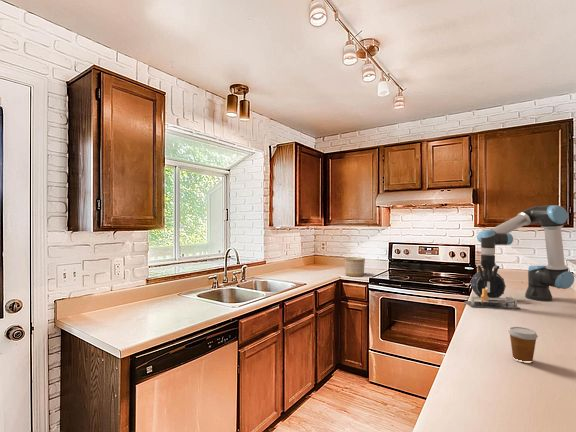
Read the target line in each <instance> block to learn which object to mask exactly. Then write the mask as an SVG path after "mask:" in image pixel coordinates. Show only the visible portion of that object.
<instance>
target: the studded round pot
mask: <svg viewBox="0 0 576 432" xmlns="http://www.w3.org/2000/svg"><path fill="white" fill-rule="evenodd" d="M493 271H494V270H492V274H493ZM482 272H483V276H484V270H483V269H482ZM487 281H488V275H487ZM470 285H471V290H472V291H473V292H474V294H475V295H476V297H481V295H482V289H486V287H485V286H484V281H483V280H481V278H480V274H479V271H477V272H476V273H475V274H474V275H473V276H472V277H471V282H470ZM506 287H507V286H506V283H505V279H504V277H502V276H501V274H499V273H498V272H497V275H496V278H495V281H492V283H491V287H490V293H489V292H487V296H488V297H491V298H501V296H503V295H504V294H505V293H504V292H505V290H506Z"/></svg>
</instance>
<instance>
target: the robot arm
mask: <svg viewBox="0 0 576 432" xmlns="http://www.w3.org/2000/svg"><path fill="white" fill-rule="evenodd" d="M567 220H568V212H567V210H566V209H565V208H564V207H563V206H561V205H553V204H552V205H551V204H550V205H535V206H532V207H530V208H527V209H525V210H523V211H521V212H519V213H517V215H516V216H514V217H512V218H510V219H507V220H506V221H504V222H503V223H500V224H498V225H496V226H495V227H492V228H490V229H483V230H481V231H479V232H478V233H477V235H476V239H477V242H479V243H480V247H481V248H480V250H481V251H480V254H481V255H480V262H479V264H476V268H477V269H478V272H479V274H480V278H481V280H483V281H484V286H485V287H486V289H487V292H489V293H490V287H491V283H492V281H495V278H496V275H497V273H498V271H499V269H500V266H499V265H498V264H496V255H495V254H496V246H509V245H512V244H513V242H514V235H512V234H511V232H514V231H515V230H517V229H519V228H521V227H523V226H529V225H532V224H540V227H541V228H542V229H543V230H544V239H545V240H544V241H545V248H546V256H547V265H530V266H528V271H527V276H528V277H527V280H528V282H527V283H528V287H527V288H526V290H525V293H524V297H525V298H526V299H529V300H533V301H539V302H552V301H553V296H552V292H551V290H550V287H552V288H556V289H561V290H562V289H563V290H567V289H569V288H570V287H572V285H573V284H574V282H575V275H574V273H572V272H571V271H569V267H568V266H567V265H566V262H565V253H564V245H563V237H562V236H563V234H562V228H563V227H564V223H566V222H567ZM482 268H483V269H482ZM482 270H484V276H483V272H482ZM492 271H493V274H492ZM487 275H488V281H487Z"/></svg>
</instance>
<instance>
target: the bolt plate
mask: <svg viewBox="0 0 576 432" xmlns="http://www.w3.org/2000/svg"><path fill="white" fill-rule="evenodd" d="M464 304H466V305H468V306H469V307H470V308H472V309H474V308H477V309H499V310H518V311H519V310H521V307H520V306H518V305H517V307H514V303H513V302H508V305H506V302H500V301H499V302H498V301H497V302H496V301H483V304H481V301H476V300H474V305H471V300H469V301H468V300H465V301H464Z"/></svg>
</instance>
